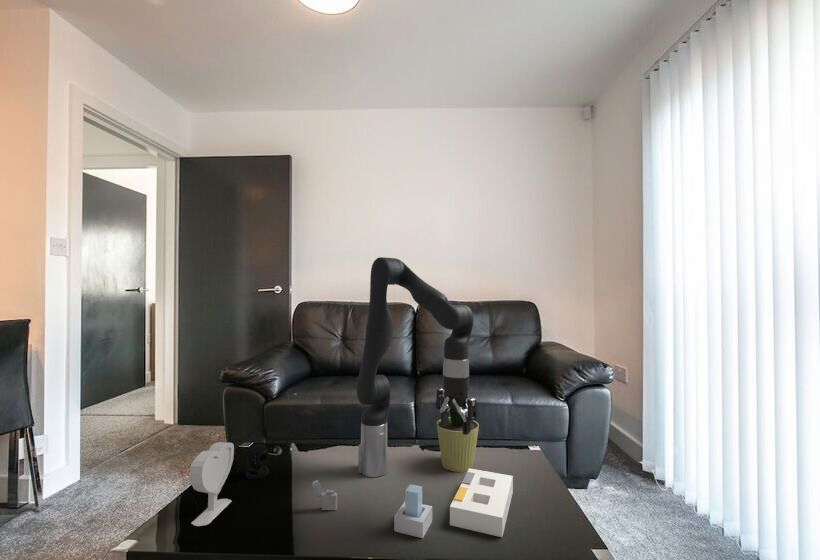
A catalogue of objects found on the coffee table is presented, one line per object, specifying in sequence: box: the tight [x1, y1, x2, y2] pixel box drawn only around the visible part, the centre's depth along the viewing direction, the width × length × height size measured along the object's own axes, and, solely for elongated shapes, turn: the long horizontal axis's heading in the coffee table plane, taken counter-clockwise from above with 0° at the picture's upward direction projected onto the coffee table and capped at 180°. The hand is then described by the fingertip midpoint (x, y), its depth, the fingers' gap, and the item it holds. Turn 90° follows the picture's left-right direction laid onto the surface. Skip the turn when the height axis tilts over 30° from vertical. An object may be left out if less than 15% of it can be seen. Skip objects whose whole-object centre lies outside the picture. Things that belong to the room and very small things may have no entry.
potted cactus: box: [436, 391, 480, 473], centre depth 141 cm, size 15×15×30 cm
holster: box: [393, 501, 433, 539], centre depth 104 cm, size 8×8×4 cm
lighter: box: [311, 479, 338, 511], centre depth 112 cm, size 7×2×8 cm, turn 89°
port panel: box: [449, 468, 514, 538], centre depth 113 cm, size 14×24×5 cm, turn 159°
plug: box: [404, 483, 423, 518], centre depth 104 cm, size 4×4×10 cm
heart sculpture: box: [189, 441, 235, 527], centre depth 111 cm, size 16×5×18 cm, turn 175°
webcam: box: [245, 444, 270, 480], centre depth 132 cm, size 8×8×10 cm
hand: (455, 429), depth 112 cm, fingers open, 8 cm apart
